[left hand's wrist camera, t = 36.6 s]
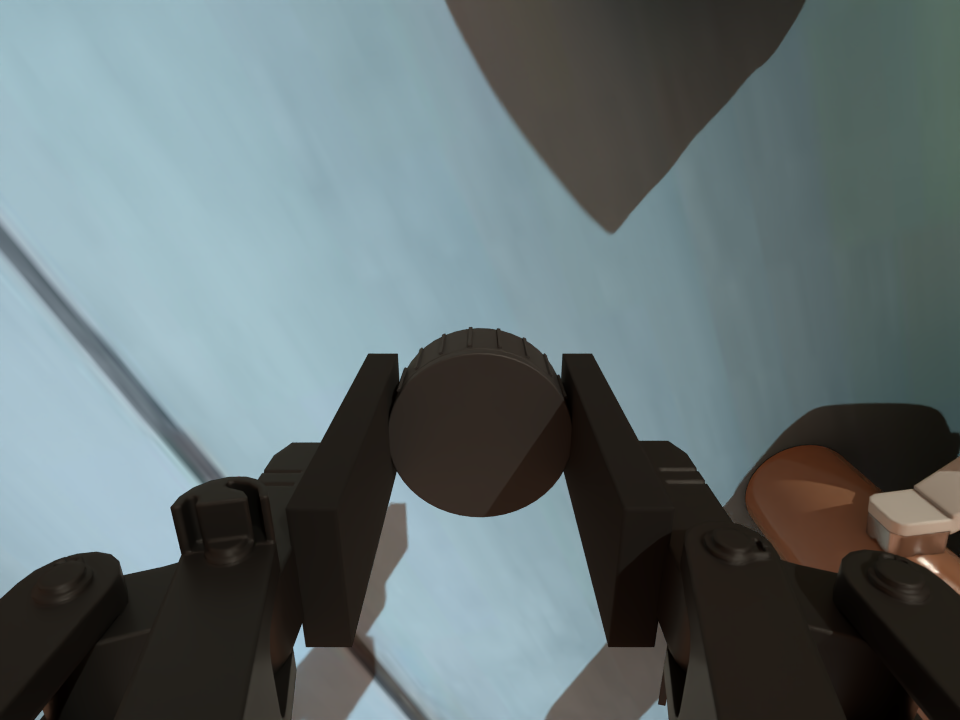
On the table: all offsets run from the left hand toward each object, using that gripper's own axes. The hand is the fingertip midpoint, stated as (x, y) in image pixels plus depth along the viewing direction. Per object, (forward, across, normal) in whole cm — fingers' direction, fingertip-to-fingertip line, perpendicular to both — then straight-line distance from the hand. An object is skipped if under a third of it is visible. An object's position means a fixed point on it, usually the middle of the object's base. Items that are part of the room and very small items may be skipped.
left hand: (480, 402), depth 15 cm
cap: (-2, 0, 0) cm, 2 cm away
